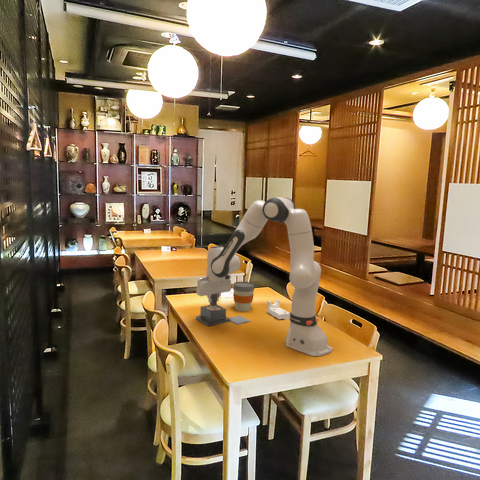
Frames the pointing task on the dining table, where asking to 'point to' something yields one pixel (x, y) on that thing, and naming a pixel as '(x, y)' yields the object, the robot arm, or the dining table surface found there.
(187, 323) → the dining table surface
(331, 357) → the dining table surface
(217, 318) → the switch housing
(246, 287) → the reusable coffee cup
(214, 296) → the stylus
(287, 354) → the dining table surface
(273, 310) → the bracket
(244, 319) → the rest mat
